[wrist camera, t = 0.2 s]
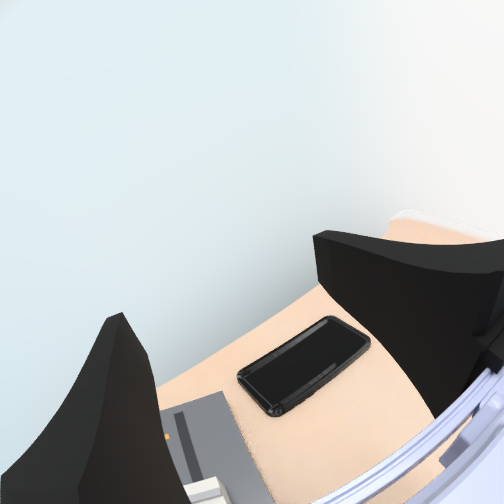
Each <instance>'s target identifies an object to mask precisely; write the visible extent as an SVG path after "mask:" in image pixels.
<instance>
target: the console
mask: <svg viewBox="0 0 504 504" xmlns="http://www.w3.org/2000/svg"><path fill="white" fill-rule="evenodd" d="M160 416H161V422H162V427H163V431H164V435H165V439H166V443H167V446H168V448H169V451H170V454H171V457H172V460H173V462H174V465H175V467H176V470H177V472H178V475H179V477H180V480H181V482H182V484H183V485H187V484H191V483H195V482H198V481H202V480H205V479H209V478H212V477H215V476H216V477H217V478H218V479H219V481H220V482H221V483H222V484H223V485H224V486H225V489H226V491H227V493H228V496H229V498H230V501H231V503H232V504H275V502H274V500H273V498H272V496H271V494H270V493H269V491H268V489H267V487H266V485H265V483H264V481H263V479H262V477H261V475H260V473H259V471H258V469H257V467H256V465H255V462H254V460H253V458H252V456H251V454H250V452H249V450H248V448H247V446H246V443H245V441H244V439H243V437H242V435H241V432H240V430H239V428H238V426H237V423H236V421H235V419H234V417H233V414H232V412H231V410H230V407H229V405H228V403H227V400H226V398H225V396H224V394H223V392H222V391H219V392H217V393H214V394H211V395H208V396H205V397H202V398H199V399H196V400H193V401H190V402H187V403H184V404H181V405H178V406H175V407H172V408H168V409H165V410H162V411H160Z"/></svg>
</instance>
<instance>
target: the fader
mask: <svg viewBox="0 0 504 504" xmlns="http://www.w3.org/2000/svg"><path fill="white" fill-rule="evenodd" d="M183 487H184V489H185V491H186V493H187V495H188V497H189V499H190V501H191V503H192V504H232V503H231V501H230V498H229V496H228V493H227V491H226V489H225V486H224V485H223V484H222V483H221V482H220V481H219V479H218V478H217V477H216V476H215V477H212V478H209V479H205V480H202V481H198V482H195V483H191V484H187V485H183Z"/></svg>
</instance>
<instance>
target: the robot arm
mask: <svg viewBox="0 0 504 504" xmlns="http://www.w3.org/2000/svg"><path fill="white" fill-rule="evenodd" d="M313 242H314V250H315V258H316V265H317V275H318V281H319V283H320V284H321V285H322V286H323V288H324V289H325V290H326V291H327V293H328V294H329V295H330V296H331V297H332V298H333V299H334V300H335V301H336V302H337V303H338V304H339V305H340V306H341V307H342V308H343V309H344V310H346V311H347V312H348V313H349V314H350V315H351V316H352V317H353V318H355V319H356V320H357V321H358V322H359V323H360V324H361V325H362V326H363V327H365V328H366V329H367V330H368V331H369V332H370V333H371V334H372V335H373V336H374V337H375V338H376V339H377V340H378V341H379V342H380V343H381V344H382V345H383V347H384V348H385V349H386V350H387V351H388V352H389V353H390V355H391V356H392V357H393V358H394V360H395V361H396V362H397V363H398V365H399V366H400V367H401V368H402V370H403V371H404V372H405V374H406V375H407V376H408V378H409V379H410V381H411V382H412V383H413V385H414V386H415V388H416V389H417V390H418V392H419V393H420V395H421V397H422V398H423V400H424V401H425V403H426V405H427V406H428V408H429V409H430V411H431V413H432V415H433V417H434V418H435V420H434V421H433V422H432V423H431V424H430V425H428V426H427V427H426V428H425V429H424V430H422V431H421V432H420V433H419V434H418V435H416V436H415V437H414V438H413V439H411V440H410V441H409V442H408V443H406V444H405V445H404V446H402V447H401V448H400V449H398V450H397V451H396V452H394V453H393V454H392V455H390V456H389V457H387V458H386V459H385V460H383V461H382V462H380V463H379V464H377V465H376V466H374V467H373V468H371V469H370V470H368V471H367V472H365V473H364V474H362V475H360V476H359V477H357V478H356V479H354V480H352V481H351V482H349V483H347V484H346V485H344V486H342V487H340V488H339V489H337V490H335V491H333V492H331V493H330V494H328V495H326V496H324V497H322V498H320V499H318V500H316V501H314V502H312V503H310V504H363V503H365V502H367V501H368V500H370V499H371V498H373V497H375V496H376V495H378V494H379V493H381V492H382V491H384V490H385V489H386V488H388V487H389V486H391V485H392V484H394V483H395V482H396V481H398V480H399V479H400V478H402V477H403V476H404V475H406V474H407V473H408V472H410V471H411V470H412V469H413V468H415V467H416V466H417V465H419V464H420V463H421V462H422V461H423V460H425V459H426V458H427V457H428V456H429V455H430V454H432V453H433V452H434V451H435V450H436V449H437V448H438V447H440V446H441V445H442V444H443V443H444V442H445V441H446V440H447V439H448V438H449V437H450V436H451V435H452V434H454V433H455V432H456V431H457V430H458V429H459V428H460V427H461V426H462V425H463V424H464V423H465V422H466V421H467V419H468V418H469V417H470V416H471V415H472V414H473V415H472V419H471V421H470V422H469V423H468V424H467V425H466V426H465V427H464V428H463V430H462V431H461V432H460V433H459V435H458V436H457V438H456V439H455V441H454V442H453V443H452V445H451V446H450V447H449V448H448V449H447V450H446V452H445V453H444V454H443V455H442V456H441V457H440V458H439V462H440V463H441V464H442V465H443V466H444V467H445V468H446V469H445V470H444V471H443V472H442V473H441V474H439V475H438V476H437V477H436V478H435V479H434V480H432V481H431V482H430V483H429V484H428V485H426V486H425V487H424V488H423V489H422V490H420V491H419V492H418V493H417V494H415V495H414V496H413V497H411V498H410V499H409V500H407V501H406V502H405V503H403V504H504V239H502V240H496V241H491V242H484V243H475V244H461V245H429V244H415V243H405V242H398V241H391V240H385V239H379V238H373V237H368V236H362V235H357V234H351V233H346V232H339V231H330V230H326V231H323V232H321V233H318V234H316V235H313ZM0 483H1V484H0V504H192V503H191V501H190V499H189V497H188V495H187V493H186V491H185V489H184V487H183V484H182V482H181V480H180V477H179V475H178V472H177V470H176V467H175V465H174V462H173V460H172V457H171V454H170V451H169V448H168V446H167V443H166V439H165V435H164V431H163V427H162V422H161V416H160V411H159V405H158V400H157V394H156V388H155V382H154V376H153V373H152V370H151V366H150V362H149V359H148V355H147V353H146V351H145V350H144V348H143V346H142V345H141V343H140V341H139V340H138V338H137V337H136V335H135V333H134V332H133V330H132V328H131V326H130V325H129V323H128V321H127V320H126V318H125V316H124V314H123V313H122V312H121V313H118V314H116V315H113V316H111V317H108V318H107V319H106V320H105V322H104V324H103V326H102V328H101V330H100V332H99V335H98V336H97V338H96V341H95V343H94V345H93V347H92V349H91V351H90V353H89V355H88V357H87V360H86V361H85V364H84V366H83V367H82V369H81V371H80V373H79V375H78V377H77V379H76V381H75V383H74V385H73V386H72V388H71V390H70V392H69V393H68V395H67V397H66V398H65V400H64V401H63V403H62V405H61V406H60V408H59V409H58V411H57V412H56V414H55V415H54V416H53V418H52V419H51V420H50V422H49V423H48V425H47V426H46V427H45V429H44V430H43V432H42V433H41V434H40V436H38V438H37V439H36V440H35V441H34V443H33V444H32V445H31V446H30V447H29V448H28V449H27V451H26V452H25V453H24V454H23V455H22V456H21V457H20V458H19V459H18V460H17V461H16V462H15V463H14V464H13V465H12V466H11V467H10V468H9V469H8V470H7V471H6V472H5V473H3V474H2V475H1V482H0Z"/></svg>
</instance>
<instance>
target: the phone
mask: <svg viewBox="0 0 504 504" xmlns="http://www.w3.org/2000/svg"><path fill="white" fill-rule="evenodd" d="M370 343H371V339H370V337H369V336H367V335H366V334H364V333H362V332H361V331H359V330H357V329H355V328H354V327H352V326H350V325H349V324H347V323H345V322H344V321H342V320H340V319H339V318H337V317H335V316H325V317H323V318H322V319H320V320H319V321H317V322H316V323H314V324H313V325H311V326H310V327H308V328H307V329H305V330H304V331H302V332H301V333H299V334H298V335H296V336H295V337H293V338H292V339H290V340H288V341H287V342H285V343H284V344H282V345H281V346H279V347H277V348H276V349H274V350H273V351H271V352H269V353H268V354H266V355H264V356H263V357H261V358H259V359H258V360H256V361H254V362H253V363H251V364H249V365H248V366H246V367H244V368H243V369H241V370H240V371H239V372H238V373H237V379H238V382H239V384H240V385H241V386H242V387H243V388H244V389H245V391H246V392H247V393H248V394H249V395H250V396H251V397H252V398H253V399H254V401H255V402H256V403H257V404H258V405H259V406H260V407H261V408H262V409H263V410H264V411H265V412H266V414H268V415H269V416H271V417H280V416H282V415H284V414H285V413H287V412H288V411H289V410H291V409H292V408H294V407H295V406H297V405H298V404H299V403H301V402H302V401H304V400H305V399H306V398H308V397H309V396H311V395H312V394H314V393H315V392H316V391H317V390H319V389H320V388H321V387H323V386H324V385H325V384H327V383H328V382H329V381H331V380H332V379H333V378H334V377H336V376H337V375H338V374H339V373H341V372H342V371H343V370H344V369H346V368H347V367H348V366H349V365H351V364H352V363H353V362H354V361H355V360H357V359H358V358H359V357H360V356H361V355H362V354H364V353H365V352H366V351H367V350H368V349H369V348H370Z"/></svg>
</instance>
